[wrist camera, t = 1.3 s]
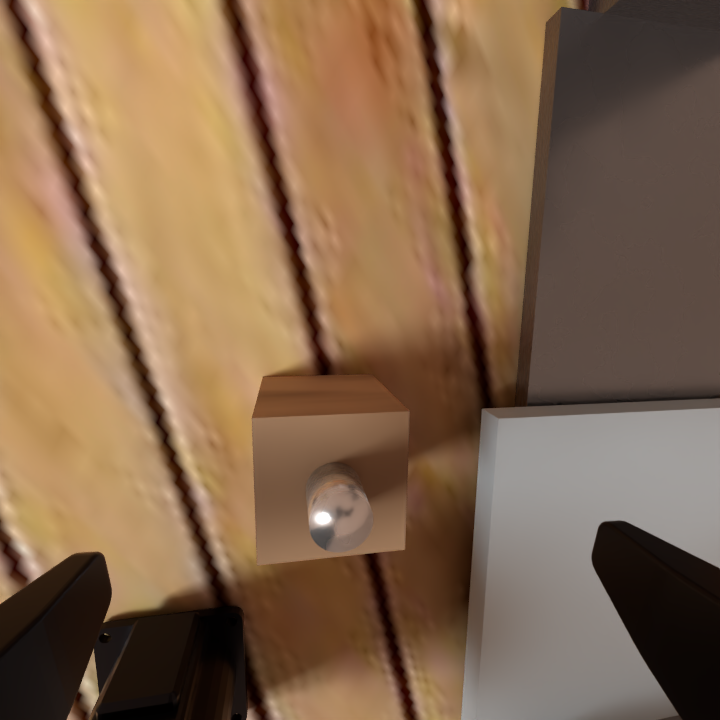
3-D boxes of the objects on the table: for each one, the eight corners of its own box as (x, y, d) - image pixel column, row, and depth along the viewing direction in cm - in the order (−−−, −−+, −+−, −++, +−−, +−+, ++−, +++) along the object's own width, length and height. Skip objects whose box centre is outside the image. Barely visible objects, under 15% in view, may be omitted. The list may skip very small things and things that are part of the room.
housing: (369, 472, 20) (424, 591, 12) (266, 480, 19) (251, 614, 11) (371, 373, 19) (431, 432, 11) (262, 376, 18) (245, 442, 10)
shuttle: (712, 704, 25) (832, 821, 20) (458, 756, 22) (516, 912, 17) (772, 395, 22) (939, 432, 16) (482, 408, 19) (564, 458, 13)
